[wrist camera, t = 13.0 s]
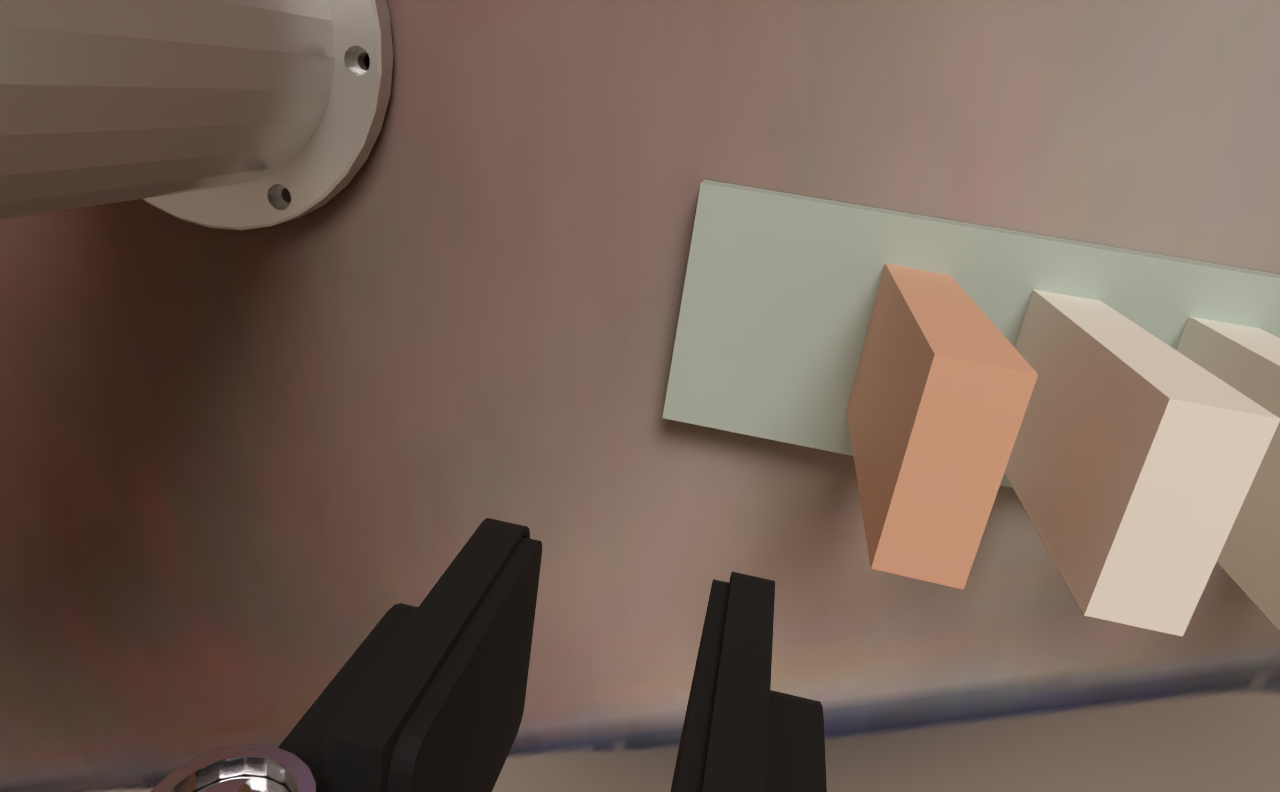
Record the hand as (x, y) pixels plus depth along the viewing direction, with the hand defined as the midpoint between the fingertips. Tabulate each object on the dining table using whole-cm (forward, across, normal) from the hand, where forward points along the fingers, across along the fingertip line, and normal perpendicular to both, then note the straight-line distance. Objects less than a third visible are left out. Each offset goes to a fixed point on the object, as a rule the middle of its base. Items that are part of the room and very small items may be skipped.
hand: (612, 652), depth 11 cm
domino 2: (+18, -10, 0) cm, 21 cm away
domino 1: (+18, -6, 0) cm, 19 cm away
